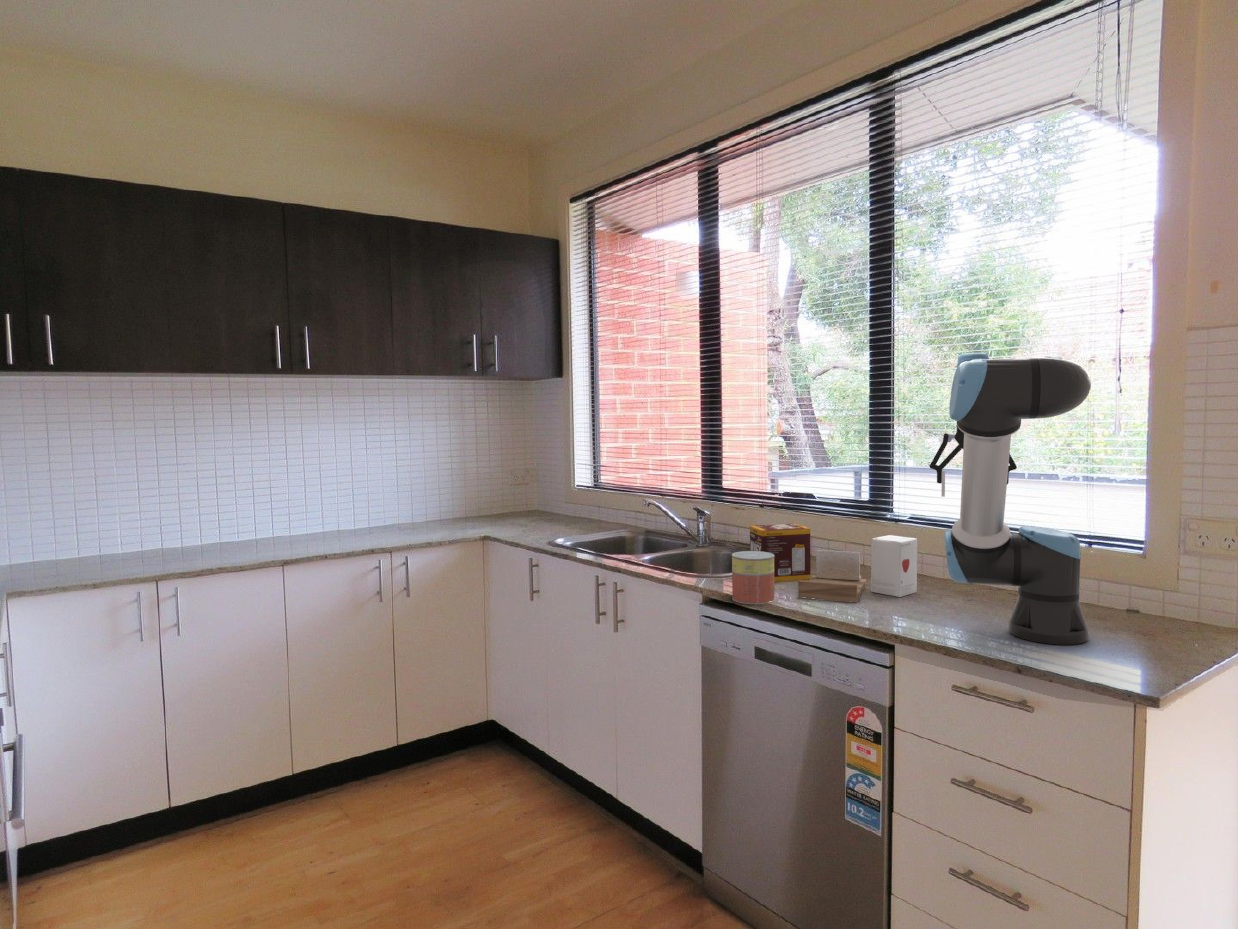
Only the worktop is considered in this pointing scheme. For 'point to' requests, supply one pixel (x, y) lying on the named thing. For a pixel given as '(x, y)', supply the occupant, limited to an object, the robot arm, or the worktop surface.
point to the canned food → (753, 577)
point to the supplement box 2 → (894, 565)
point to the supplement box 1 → (784, 549)
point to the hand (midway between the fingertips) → (971, 496)
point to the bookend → (838, 565)
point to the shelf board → (831, 589)
